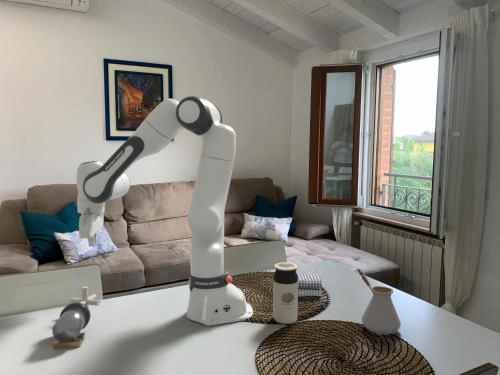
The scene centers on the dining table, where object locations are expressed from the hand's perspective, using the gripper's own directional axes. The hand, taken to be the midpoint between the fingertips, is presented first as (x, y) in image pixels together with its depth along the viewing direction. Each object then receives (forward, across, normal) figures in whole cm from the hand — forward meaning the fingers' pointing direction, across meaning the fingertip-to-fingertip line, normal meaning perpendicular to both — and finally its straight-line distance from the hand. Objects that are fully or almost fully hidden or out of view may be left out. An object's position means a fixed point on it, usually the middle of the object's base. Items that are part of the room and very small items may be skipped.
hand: (92, 245), depth 138 cm
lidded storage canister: (+21, -28, 0) cm, 35 cm away
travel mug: (+21, -24, -65) cm, 72 cm away
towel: (+22, +2, -77) cm, 80 cm away
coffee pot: (+22, -31, -92) cm, 99 cm away
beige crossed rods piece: (+21, -12, 0) cm, 24 cm away
